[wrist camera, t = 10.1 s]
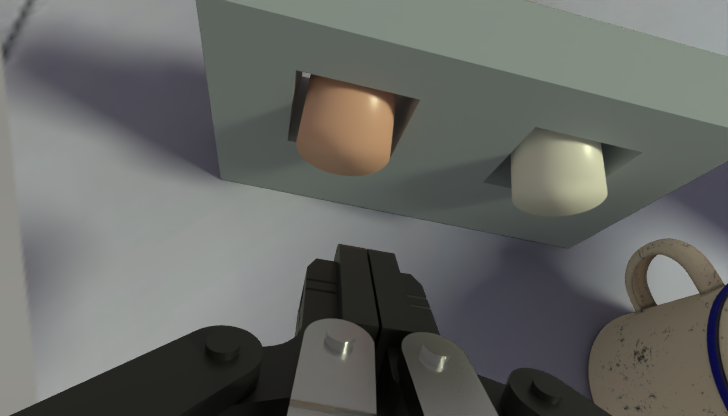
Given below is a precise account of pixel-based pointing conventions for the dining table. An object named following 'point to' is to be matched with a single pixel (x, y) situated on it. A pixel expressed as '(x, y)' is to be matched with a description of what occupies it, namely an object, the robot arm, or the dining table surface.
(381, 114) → the terracotta button
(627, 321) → the teacup with lid
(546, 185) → the cream button
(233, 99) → the button panel
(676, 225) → the dining table surface
